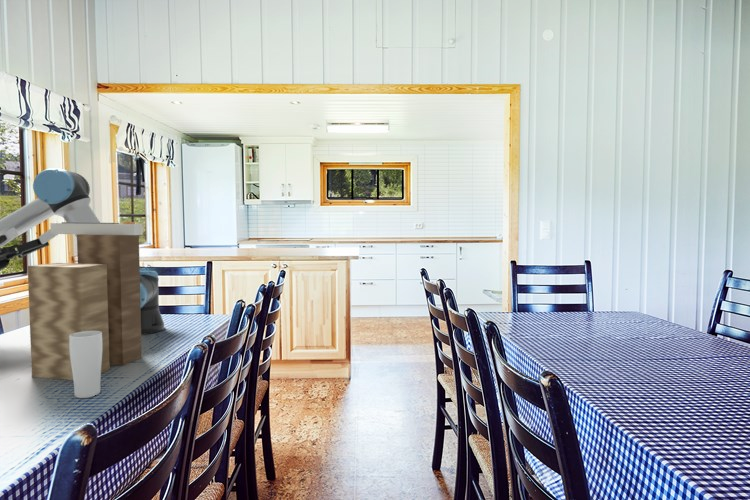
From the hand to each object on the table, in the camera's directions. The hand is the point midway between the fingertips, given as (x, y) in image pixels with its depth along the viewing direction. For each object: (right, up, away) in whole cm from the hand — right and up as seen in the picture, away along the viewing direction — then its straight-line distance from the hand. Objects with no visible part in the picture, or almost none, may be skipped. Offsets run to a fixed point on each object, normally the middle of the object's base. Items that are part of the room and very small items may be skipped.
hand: (36, 231), depth 141 cm
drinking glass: (+37, -41, -33) cm, 64 cm away
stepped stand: (+24, -40, -12) cm, 48 cm away
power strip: (+23, -1, -7) cm, 24 cm away
